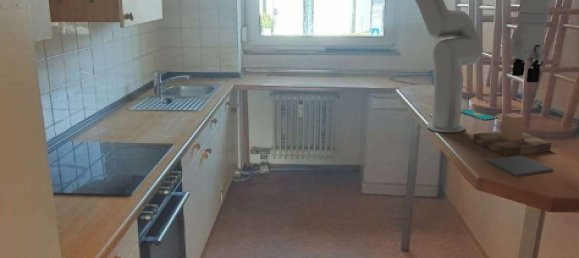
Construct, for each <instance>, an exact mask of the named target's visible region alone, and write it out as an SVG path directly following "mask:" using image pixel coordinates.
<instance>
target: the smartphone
mask: <svg viewBox="0 0 579 258" xmlns="http://www.w3.org/2000/svg"><path fill="white" fill-rule="evenodd" d="M461 114H463V115H465V116H469V117H471V118H475V117H476V119H478V118H479V119H478V120H480V119H482V120H481V121H490V120H489V119H491V120H492V119H493V117H492V116H493V115H492V116H489V115H490V114H489V115H484V114H481V113H475V112H474V111H472V110H471V108H470V109H461ZM493 120H494V119H493Z"/></svg>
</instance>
